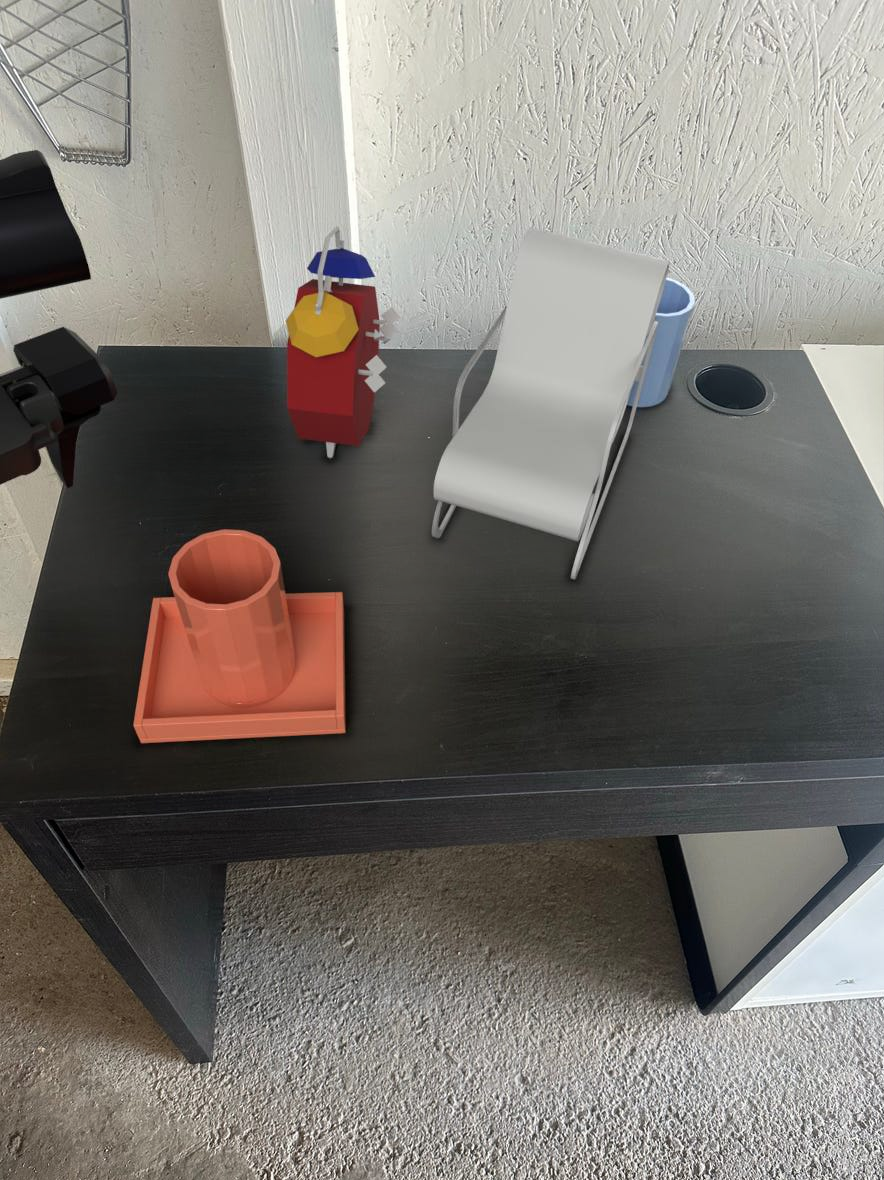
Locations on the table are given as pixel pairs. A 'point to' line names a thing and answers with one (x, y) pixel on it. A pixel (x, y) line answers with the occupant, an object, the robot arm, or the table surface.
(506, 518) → the chair
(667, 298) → the blue cup
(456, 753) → the table surface
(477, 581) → the table surface
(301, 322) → the alarm clock
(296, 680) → the coral tray
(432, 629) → the table surface
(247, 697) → the coral cup
